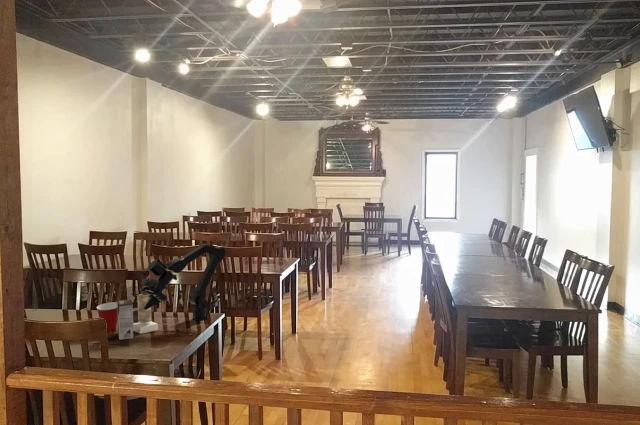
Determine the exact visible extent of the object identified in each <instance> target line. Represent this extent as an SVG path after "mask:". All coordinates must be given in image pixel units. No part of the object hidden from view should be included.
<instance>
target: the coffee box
mask: <svg viewBox="0 0 640 425" xmlns="http://www.w3.org/2000/svg"><path fill="white" fill-rule="evenodd" d="M116 303H117V313H118V321H117V329H118V330H117V334H118V340H119V341H121V340H128V339H134V331H133V308H134V307H133V306H134V305H133V301H132V299H122V300H121V299H120V300H116Z"/></svg>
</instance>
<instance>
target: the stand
mask: <svg viewBox="0 0 640 425" xmlns="http://www.w3.org/2000/svg"><path fill="white" fill-rule="evenodd" d="M158 330H159V324H158V323H156V322H154V321H151V322H147V323H133V332H135V333H137V334H146V333H150V332H156V331H158Z"/></svg>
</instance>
